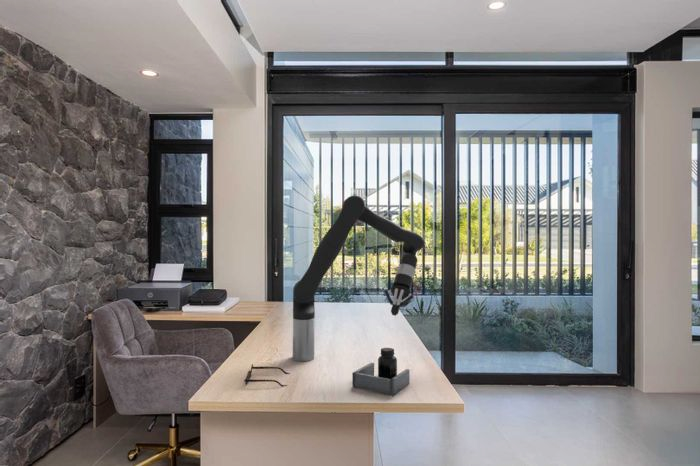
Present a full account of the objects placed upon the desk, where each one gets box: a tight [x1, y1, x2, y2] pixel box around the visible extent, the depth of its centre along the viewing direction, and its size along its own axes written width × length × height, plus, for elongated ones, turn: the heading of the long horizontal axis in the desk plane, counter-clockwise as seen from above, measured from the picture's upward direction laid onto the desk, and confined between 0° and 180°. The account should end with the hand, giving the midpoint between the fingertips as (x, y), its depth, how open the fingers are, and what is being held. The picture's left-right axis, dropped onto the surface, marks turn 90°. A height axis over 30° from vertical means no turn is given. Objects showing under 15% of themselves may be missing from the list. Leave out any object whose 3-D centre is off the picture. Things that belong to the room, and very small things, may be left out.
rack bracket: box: [351, 362, 410, 397], centre depth 150 cm, size 14×15×5 cm
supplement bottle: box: [377, 347, 398, 379], centre depth 152 cm, size 7×7×12 cm
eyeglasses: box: [243, 363, 291, 388], centre depth 154 cm, size 15×15×5 cm
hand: (393, 314), depth 171 cm, fingers closed
